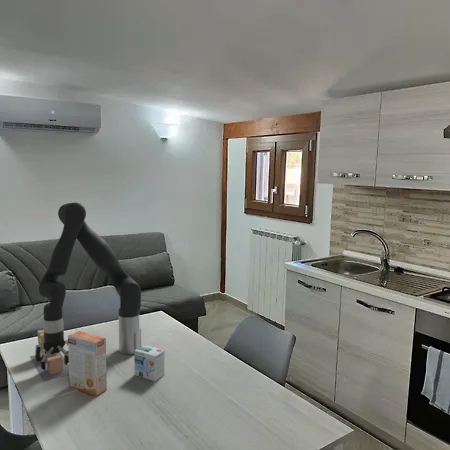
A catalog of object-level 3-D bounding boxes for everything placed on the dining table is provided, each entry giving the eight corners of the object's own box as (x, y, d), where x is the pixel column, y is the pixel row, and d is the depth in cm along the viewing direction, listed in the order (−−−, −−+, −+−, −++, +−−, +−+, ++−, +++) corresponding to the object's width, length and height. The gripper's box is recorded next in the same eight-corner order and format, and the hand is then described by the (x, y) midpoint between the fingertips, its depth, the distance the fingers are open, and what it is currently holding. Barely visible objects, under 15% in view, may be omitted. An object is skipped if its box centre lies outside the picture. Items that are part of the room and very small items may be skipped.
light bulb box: (133, 375, 174) (133, 350, 173) (144, 368, 180) (144, 344, 179) (155, 382, 169) (155, 356, 168) (165, 374, 175) (165, 349, 174)
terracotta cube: (63, 371, 175) (62, 359, 175) (50, 374, 172) (49, 362, 172) (60, 366, 179) (59, 355, 179) (47, 369, 177) (46, 358, 176)
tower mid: (56, 345, 185) (55, 332, 184) (41, 349, 182) (40, 335, 181) (52, 341, 190) (52, 328, 189) (38, 344, 187) (37, 330, 186)
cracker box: (107, 389, 163) (106, 337, 160) (96, 397, 157) (94, 342, 155) (80, 380, 169) (79, 329, 166) (68, 387, 164) (67, 335, 161)
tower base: (56, 359, 186) (56, 345, 185) (41, 362, 183) (41, 349, 182) (53, 354, 191) (52, 341, 190) (38, 357, 188) (38, 344, 187)
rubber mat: (74, 374, 174) (74, 373, 174) (43, 382, 167) (43, 381, 167) (58, 350, 195) (58, 350, 195) (29, 357, 188) (29, 356, 188)
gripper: (69, 322, 181) (70, 359, 183) (32, 329, 172) (34, 367, 175) (74, 328, 174) (75, 366, 177) (36, 335, 166) (38, 375, 169)
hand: (55, 366), depth 176 cm, fingers open, 8 cm apart
